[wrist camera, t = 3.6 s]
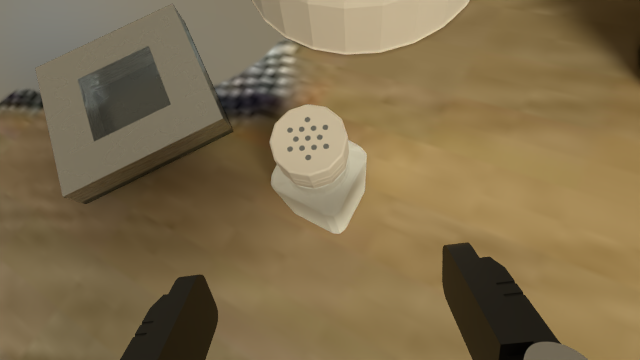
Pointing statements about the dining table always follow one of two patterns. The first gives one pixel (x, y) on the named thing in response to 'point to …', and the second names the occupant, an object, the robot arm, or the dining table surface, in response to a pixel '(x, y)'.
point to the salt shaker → (317, 166)
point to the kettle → (357, 22)
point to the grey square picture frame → (128, 105)
